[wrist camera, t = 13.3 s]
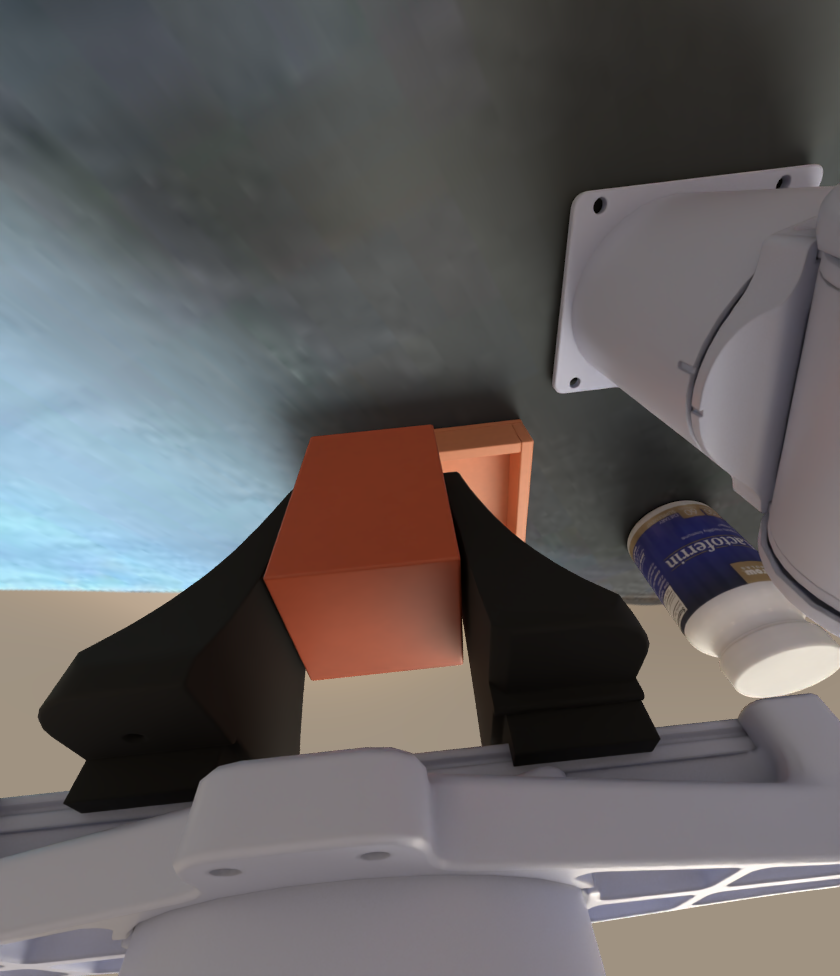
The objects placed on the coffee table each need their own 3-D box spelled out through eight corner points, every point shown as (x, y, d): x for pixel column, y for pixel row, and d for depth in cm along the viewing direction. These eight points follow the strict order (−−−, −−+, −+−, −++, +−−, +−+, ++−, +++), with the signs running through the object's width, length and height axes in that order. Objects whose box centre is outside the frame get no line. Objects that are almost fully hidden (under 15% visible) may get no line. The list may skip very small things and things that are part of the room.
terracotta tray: (520, 418, 21) (534, 440, 19) (512, 544, 26) (522, 571, 24) (309, 443, 21) (301, 468, 19) (345, 563, 26) (342, 592, 24)
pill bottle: (711, 483, 24) (875, 623, 16) (711, 543, 27) (847, 685, 19) (618, 516, 25) (726, 663, 17) (628, 570, 28) (724, 715, 20)
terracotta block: (432, 423, 13) (461, 558, 8) (439, 517, 15) (463, 665, 10) (310, 435, 13) (261, 579, 8) (335, 528, 15) (310, 681, 10)
